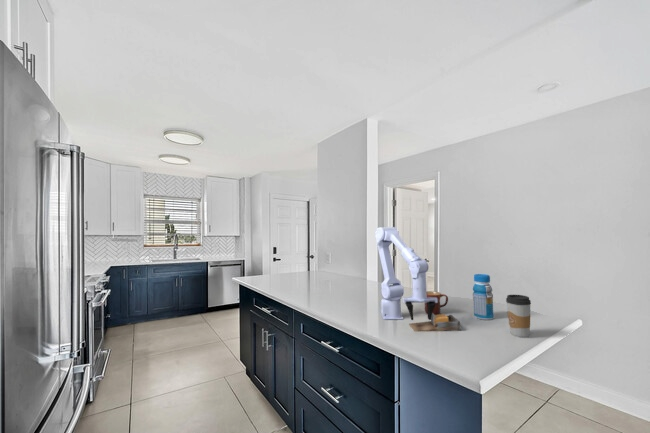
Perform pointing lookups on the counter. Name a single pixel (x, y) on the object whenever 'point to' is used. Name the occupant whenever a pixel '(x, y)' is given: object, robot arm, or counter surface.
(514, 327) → the coffee cup
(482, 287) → the beverage bottle
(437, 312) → the mug
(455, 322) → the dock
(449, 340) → the counter surface
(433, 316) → the orange block with knobs
